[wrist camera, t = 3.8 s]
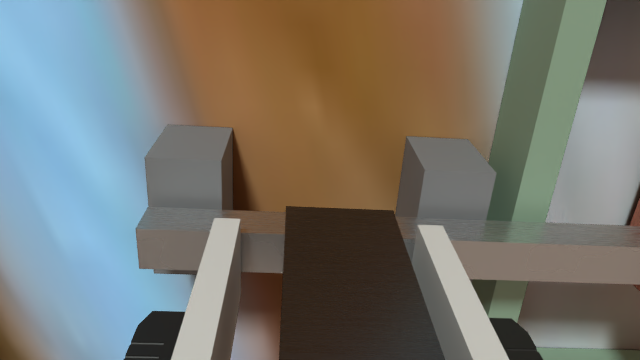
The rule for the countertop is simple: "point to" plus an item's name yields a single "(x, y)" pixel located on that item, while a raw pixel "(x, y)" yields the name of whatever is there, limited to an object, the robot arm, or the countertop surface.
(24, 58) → the countertop surface
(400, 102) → the countertop surface
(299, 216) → the kicker rod
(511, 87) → the pitch
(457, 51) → the countertop surface
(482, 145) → the countertop surface
